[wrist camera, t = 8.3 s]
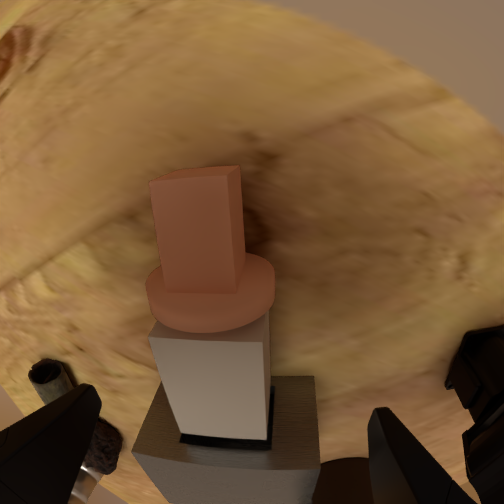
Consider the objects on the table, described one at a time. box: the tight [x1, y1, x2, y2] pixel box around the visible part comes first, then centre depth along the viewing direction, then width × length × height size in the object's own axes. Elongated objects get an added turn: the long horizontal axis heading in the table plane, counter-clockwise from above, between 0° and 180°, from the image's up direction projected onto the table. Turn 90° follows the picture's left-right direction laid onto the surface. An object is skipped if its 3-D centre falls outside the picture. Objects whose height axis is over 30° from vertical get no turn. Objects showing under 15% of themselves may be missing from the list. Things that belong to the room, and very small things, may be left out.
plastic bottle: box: [68, 461, 104, 504], centre depth 23 cm, size 6×7×20 cm
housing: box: [131, 376, 321, 504], centre depth 21 cm, size 12×10×8 cm
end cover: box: [146, 165, 275, 440], centre depth 16 cm, size 6×15×6 cm, turn 3°
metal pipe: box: [28, 359, 122, 475], centre depth 26 cm, size 18×7×6 cm, turn 4°
